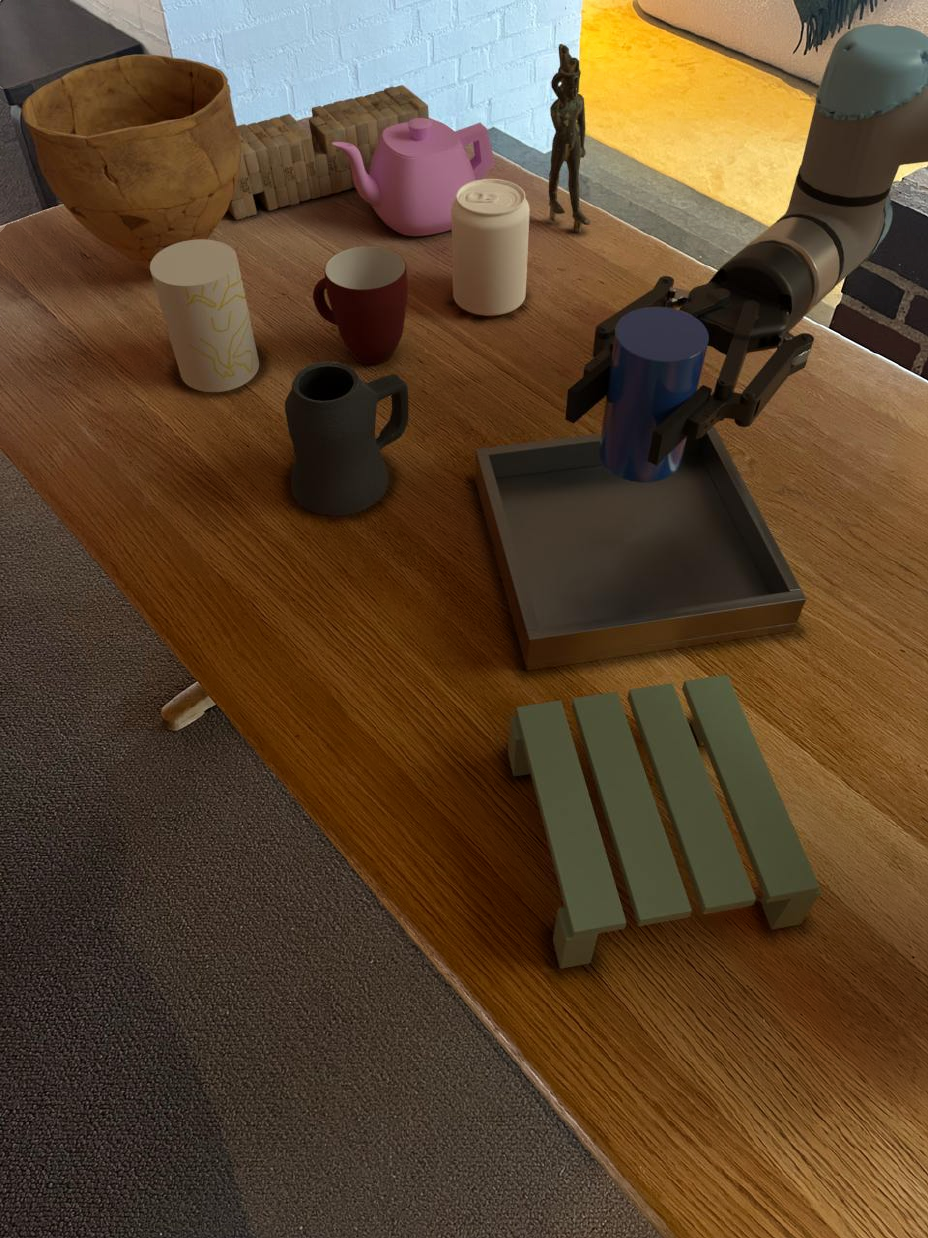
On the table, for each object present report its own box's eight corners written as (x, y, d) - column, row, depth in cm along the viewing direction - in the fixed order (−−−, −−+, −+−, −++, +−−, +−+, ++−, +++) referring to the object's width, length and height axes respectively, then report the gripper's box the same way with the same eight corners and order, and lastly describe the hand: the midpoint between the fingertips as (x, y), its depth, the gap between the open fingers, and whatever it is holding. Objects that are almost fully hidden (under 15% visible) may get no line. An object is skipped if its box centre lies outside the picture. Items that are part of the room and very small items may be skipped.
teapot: (325, 206, 121) (314, 115, 112) (470, 174, 126) (470, 84, 117) (361, 258, 113) (351, 164, 104) (514, 222, 118) (517, 129, 109)
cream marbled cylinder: (213, 402, 96) (185, 296, 87) (164, 369, 100) (132, 263, 90) (275, 365, 100) (254, 259, 91) (226, 335, 103) (201, 230, 94)
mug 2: (321, 530, 85) (304, 430, 76) (273, 473, 90) (251, 373, 81) (434, 476, 89) (429, 376, 80) (382, 425, 94) (373, 325, 85)
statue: (570, 246, 114) (585, 66, 99) (533, 226, 117) (542, 48, 102) (597, 232, 116) (616, 53, 101) (560, 213, 119) (572, 36, 104)
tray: (793, 631, 77) (806, 598, 74) (526, 671, 75) (529, 639, 72) (703, 452, 91) (711, 418, 88) (475, 481, 89) (475, 448, 86)
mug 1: (301, 363, 100) (286, 276, 92) (333, 321, 105) (321, 235, 97) (394, 383, 98) (387, 296, 90) (423, 339, 103) (418, 253, 95)
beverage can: (520, 323, 104) (524, 218, 95) (447, 316, 105) (444, 211, 96) (529, 282, 109) (535, 179, 100) (460, 276, 110) (458, 173, 101)
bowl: (78, 330, 104) (8, 144, 89) (85, 235, 117) (26, 57, 101) (269, 307, 107) (235, 121, 91) (256, 216, 119) (224, 40, 104)
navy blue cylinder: (672, 491, 72) (699, 369, 63) (589, 471, 73) (604, 350, 65) (689, 437, 76) (716, 316, 67) (610, 420, 77) (627, 299, 68)
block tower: (225, 230, 119) (434, 167, 127) (209, 163, 112) (430, 101, 120) (205, 202, 123) (407, 143, 131) (187, 136, 117) (402, 77, 125)
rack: (800, 924, 62) (826, 886, 57) (559, 969, 60) (566, 933, 56) (716, 720, 72) (733, 673, 67) (507, 753, 70) (510, 707, 66)
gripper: (868, 369, 77) (722, 527, 66) (663, 284, 85) (502, 413, 74) (900, 285, 72) (746, 444, 61) (677, 202, 79) (505, 329, 68)
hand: (612, 426), depth 67 cm, fingers closed on navy blue cylinder, 6 cm apart
